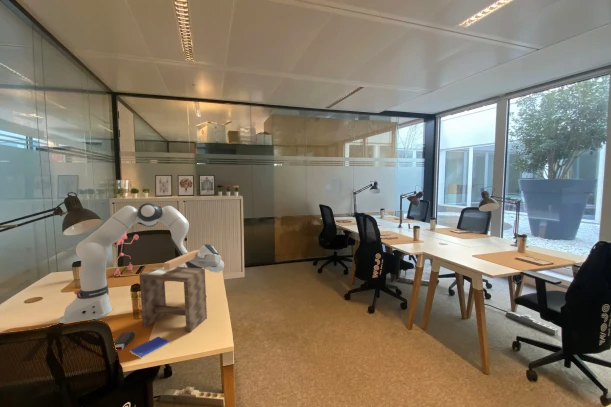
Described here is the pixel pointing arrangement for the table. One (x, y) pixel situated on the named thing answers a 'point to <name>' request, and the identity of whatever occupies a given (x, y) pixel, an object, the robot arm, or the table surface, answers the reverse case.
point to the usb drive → (124, 340)
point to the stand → (156, 301)
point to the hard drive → (149, 347)
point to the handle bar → (180, 260)
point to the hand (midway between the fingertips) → (193, 253)
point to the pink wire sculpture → (121, 250)
